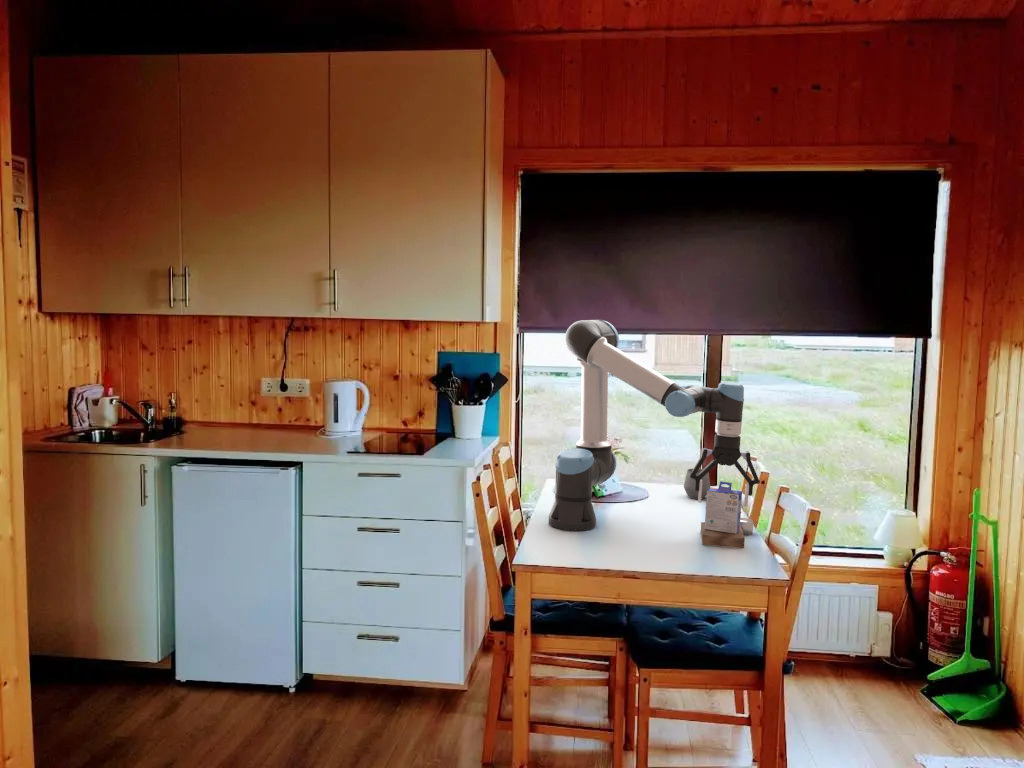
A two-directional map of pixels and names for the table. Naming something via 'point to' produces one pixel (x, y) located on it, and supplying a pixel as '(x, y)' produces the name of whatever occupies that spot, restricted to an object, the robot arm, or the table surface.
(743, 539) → the podium
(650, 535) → the table surface
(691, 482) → the cup
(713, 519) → the ink cartridge box
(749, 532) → the silver metal knob
